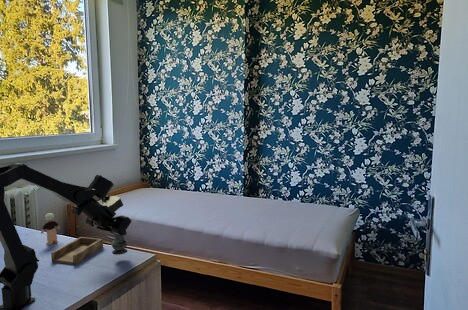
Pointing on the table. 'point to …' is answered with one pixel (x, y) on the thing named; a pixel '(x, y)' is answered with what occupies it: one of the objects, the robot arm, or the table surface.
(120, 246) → the grey tiered stone figure
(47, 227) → the grandmother figurine
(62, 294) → the table surface
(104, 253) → the table surface
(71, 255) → the open-ended wooden tray
